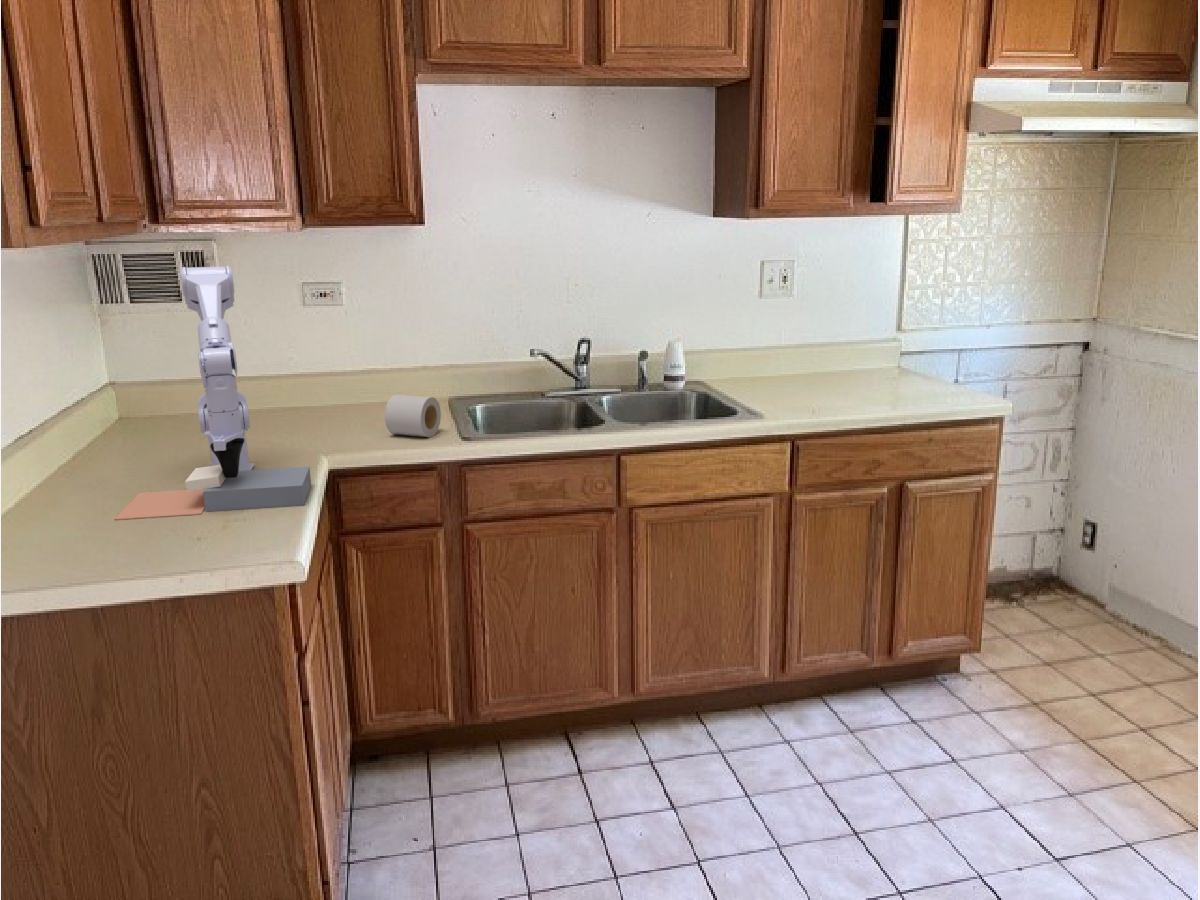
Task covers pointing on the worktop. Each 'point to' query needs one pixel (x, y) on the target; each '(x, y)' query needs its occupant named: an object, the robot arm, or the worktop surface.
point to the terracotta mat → (164, 504)
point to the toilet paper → (412, 415)
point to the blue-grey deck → (260, 489)
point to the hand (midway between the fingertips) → (231, 476)
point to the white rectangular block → (205, 478)
